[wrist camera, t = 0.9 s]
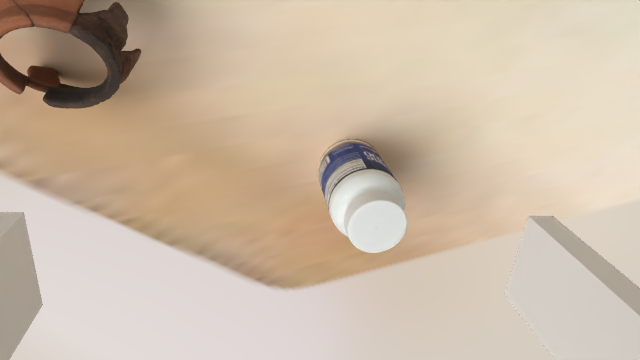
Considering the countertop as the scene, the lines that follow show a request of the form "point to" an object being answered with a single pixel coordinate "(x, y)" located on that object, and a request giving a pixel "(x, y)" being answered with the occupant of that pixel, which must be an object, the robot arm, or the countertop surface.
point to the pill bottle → (362, 196)
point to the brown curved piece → (92, 28)
